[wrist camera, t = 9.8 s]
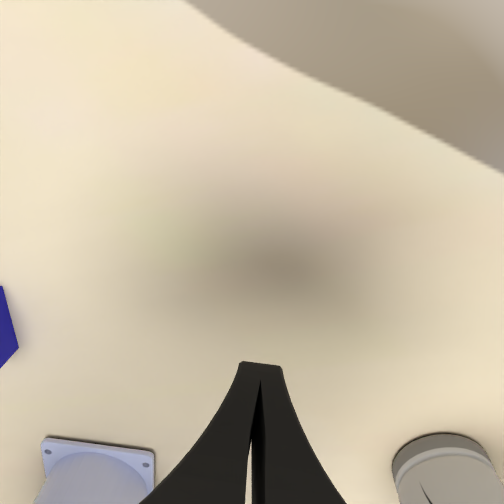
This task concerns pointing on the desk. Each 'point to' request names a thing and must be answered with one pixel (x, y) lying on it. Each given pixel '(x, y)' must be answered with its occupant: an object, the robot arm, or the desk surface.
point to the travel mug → (446, 472)
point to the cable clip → (6, 331)
